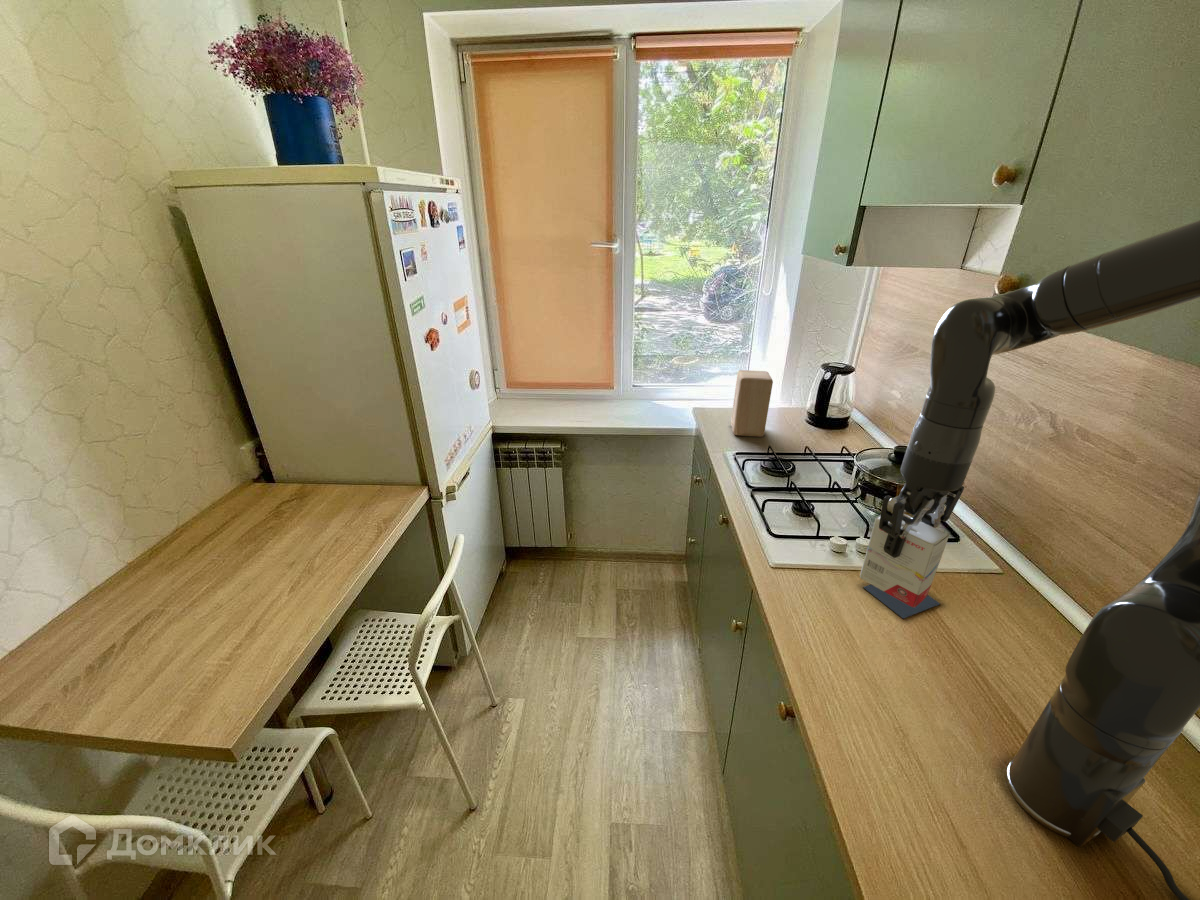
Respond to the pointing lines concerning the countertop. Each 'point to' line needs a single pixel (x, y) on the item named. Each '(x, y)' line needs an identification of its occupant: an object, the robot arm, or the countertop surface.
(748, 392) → the wooden block
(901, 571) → the ink box
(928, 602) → the mat
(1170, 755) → the countertop surface
